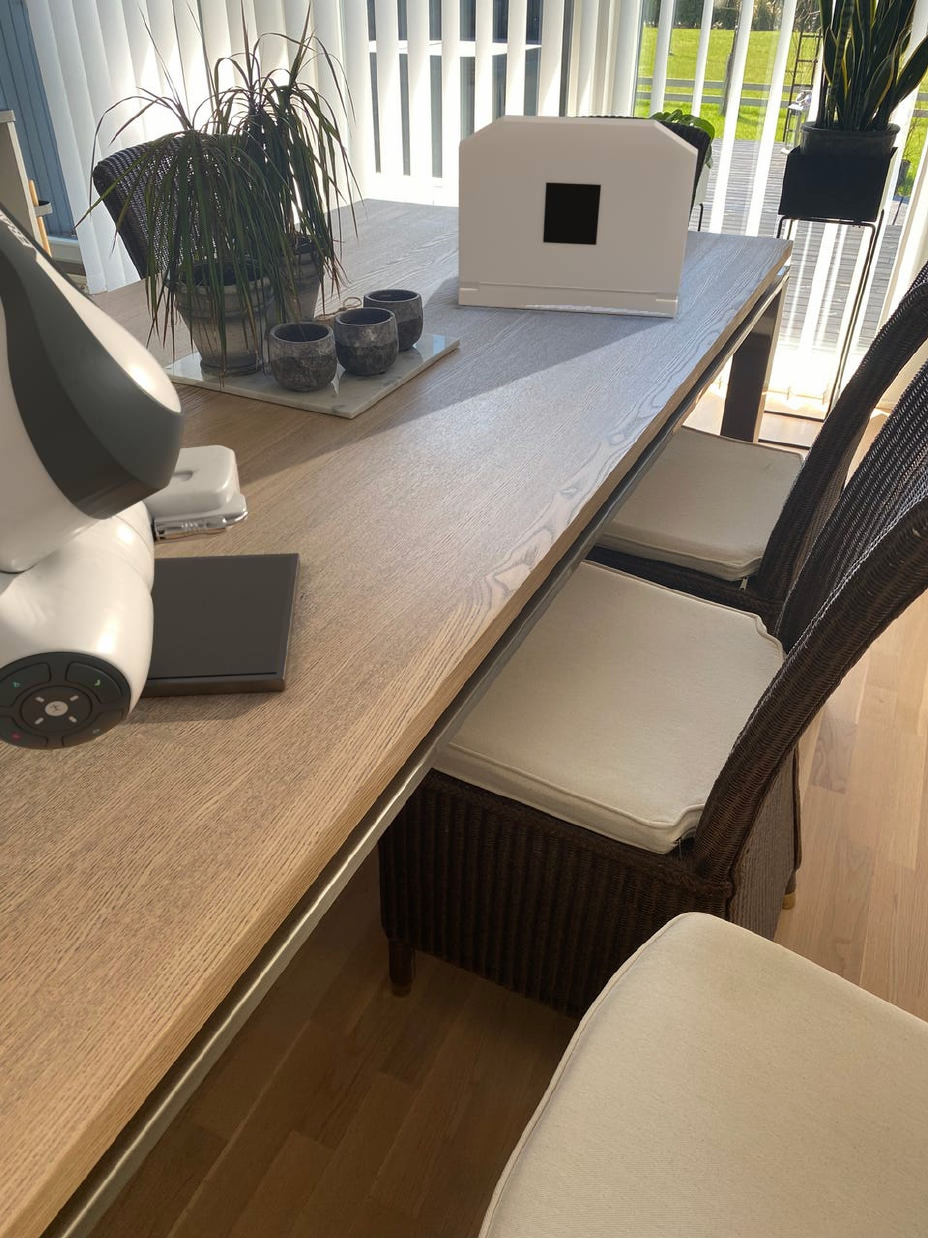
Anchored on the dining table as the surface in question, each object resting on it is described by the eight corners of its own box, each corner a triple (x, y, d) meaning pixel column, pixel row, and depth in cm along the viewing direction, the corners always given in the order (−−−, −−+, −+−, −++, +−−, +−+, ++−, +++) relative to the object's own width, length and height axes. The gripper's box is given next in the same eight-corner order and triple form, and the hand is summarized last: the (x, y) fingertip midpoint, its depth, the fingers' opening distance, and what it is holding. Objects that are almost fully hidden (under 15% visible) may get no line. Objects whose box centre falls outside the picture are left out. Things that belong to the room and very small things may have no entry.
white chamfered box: (675, 274, 162) (697, 99, 147) (675, 318, 143) (702, 122, 127) (482, 264, 167) (485, 93, 152) (458, 305, 147) (458, 114, 132)
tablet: (94, 700, 70) (90, 686, 69) (142, 569, 85) (139, 557, 84) (285, 691, 71) (283, 677, 70) (300, 563, 86) (299, 551, 85)
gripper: (244, 480, 59) (231, 397, 70) (-118, 520, 54) (-71, 424, 65) (256, 567, 62) (242, 474, 73) (-82, 610, 58) (-43, 505, 69)
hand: (92, 451), depth 69 cm, fingers closed on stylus, 3 cm apart
